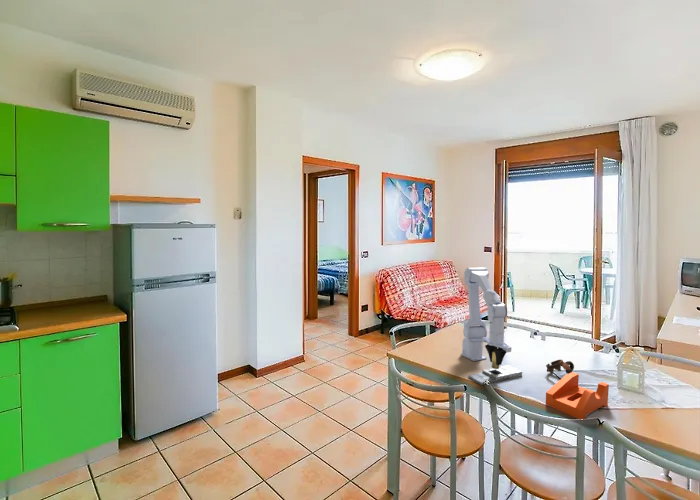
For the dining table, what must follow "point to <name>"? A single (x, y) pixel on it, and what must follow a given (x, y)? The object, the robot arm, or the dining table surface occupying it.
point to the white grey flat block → (501, 374)
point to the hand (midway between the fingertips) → (495, 363)
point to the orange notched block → (576, 396)
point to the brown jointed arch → (557, 366)
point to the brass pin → (494, 361)
